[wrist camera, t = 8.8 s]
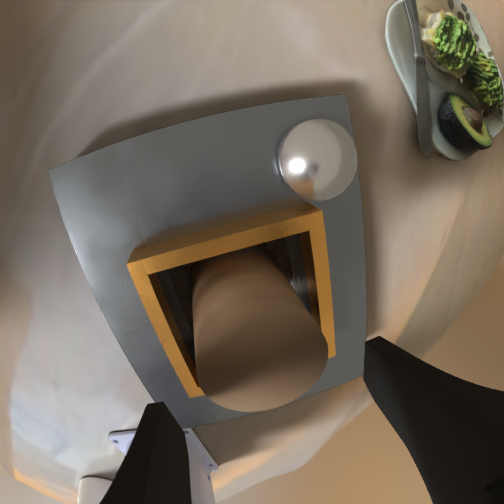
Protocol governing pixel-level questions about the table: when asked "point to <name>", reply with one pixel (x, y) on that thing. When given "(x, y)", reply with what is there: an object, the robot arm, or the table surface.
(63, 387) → the table surface
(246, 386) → the walnut peg
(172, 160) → the gray peg socket base
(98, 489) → the can
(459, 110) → the salad plate
